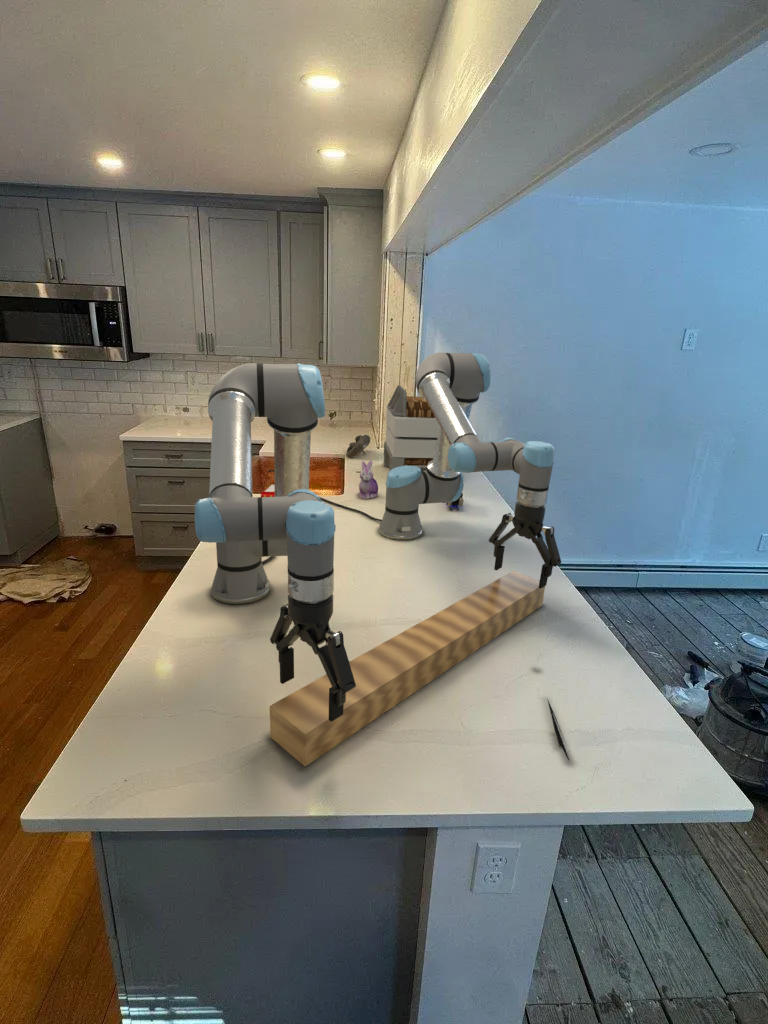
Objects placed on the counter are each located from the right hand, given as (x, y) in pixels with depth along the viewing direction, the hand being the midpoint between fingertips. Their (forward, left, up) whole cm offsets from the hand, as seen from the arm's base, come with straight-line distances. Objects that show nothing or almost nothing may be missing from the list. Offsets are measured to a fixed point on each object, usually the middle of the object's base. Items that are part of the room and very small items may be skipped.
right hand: (519, 577), depth 152 cm
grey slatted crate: (-109, +69, -8) cm, 130 cm away
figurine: (-96, +26, -8) cm, 99 cm away
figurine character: (-67, +47, -8) cm, 82 cm away
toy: (-95, -17, -8) cm, 97 cm away
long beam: (+4, -36, -8) cm, 37 cm away
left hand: (+8, -72, 0) cm, 72 cm away
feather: (+31, -30, -8) cm, 44 cm away
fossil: (-155, +67, -8) cm, 169 cm away
